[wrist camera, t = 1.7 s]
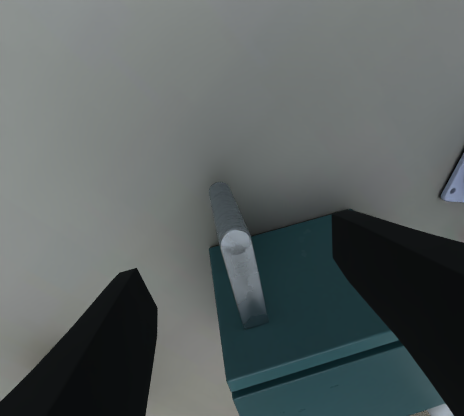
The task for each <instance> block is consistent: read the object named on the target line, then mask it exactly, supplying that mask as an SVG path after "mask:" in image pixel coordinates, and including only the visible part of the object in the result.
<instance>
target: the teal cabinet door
mask: <svg viewBox="0 0 464 416" xmlns="http://www.w3.org/2000/svg"><path fill="white" fill-rule="evenodd" d="M209 197H210V202H211V207H212V211H213V216H214V221H215V226H216V231H217V236H218V241H219V246H215V247H212V248H209V254H210V261H211V269H212V276H213V284H214V292H215V299H216V307H217V314H218V322H219V329H220V337H221V345H222V352H223V360H224V367H225V375H226V381H227V384H228V386H229V389H230V391H231V392H234V391H238V390H241V389H244V388H247V387H250V386H254V385H257V384H260V383H263V382H266V381H270V380H273V379H276V378H279V377H283V376H286V375H289V374H292V373H295V372H299V371H302V370H305V369H308V368H311V367H315V366H318V365H321V364H324V363H327V362H331V361H334V360H337V359H340V358H344V357H347V356H350V355H353V354H356V353H360V352H363V351H366V350H369V349H372V348H376V347H379V346H382V345H385V344H389V343H392V342H395V341H398V340H399V339H398V338H397V337H396V336H395V335H394V333H393V332H392V331H391V330H390V329H389V328H388V326H387V325H386V324H385V323H384V322H383V321H382V320H381V318H380V317H379V316H378V315H377V314H376V313H375V312H374V310H373V309H372V308H371V307H370V306H369V305H368V304H367V302H366V301H365V300H364V299H363V298H362V297H361V295H360V294H359V293H358V292H357V291H356V290H355V288H354V287H353V286H352V285H351V284H350V283H349V281H348V280H347V279H346V277H345V276H344V274H343V273H342V271H341V270H340V268H339V267H338V265H337V264H336V262H335V261H334V259H333V257H332V214H331V215H327V216H324V217H320V218H317V219H313V220H309V221H306V222H302V223H298V224H295V225H291V226H288V227H284V228H280V229H277V230H273V231H270V232H266V233H262V234H259V235H255V236H252V237H251V235H250V233H249V231H248V228H247V226H246V224H245V222H244V219H243V217H242V215H241V212H240V210H239V208H238V206H237V203H236V201H235V199H234V197H233V194H232V192H231V190H230V187H229V186H228V185H227V184H226V183H224V182H216V183H214V184H213V185H212V186H211V187H210V189H209ZM349 210H352V209H349ZM352 211H354V210H352Z"/></svg>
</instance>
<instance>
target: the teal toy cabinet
mask: <svg viewBox="0 0 464 416" xmlns="http://www.w3.org/2000/svg"><path fill="white" fill-rule="evenodd" d="M232 398H233V401H234V404H235V406H236V408H237V411H238V413H239V416H409V415H412V414H415V413H418V412H421V411H424V410H427V409H430V408H433V407H436V406H439V405H442V404H445V402H444V401H443V399H442V398H441V396H440V395H439V394H438V392H437V391H436V389H435V388H434V386H433V385H432V384H431V382H430V381H429V379H428V378H427V377H426V375H425V374H424V373H423V371H422V370H421V368H420V367H419V366H418V364H417V363H416V362H415V360H414V359H413V357H412V356H411V355H410V353H409V352H408V351H407V349H406V348H405V347H404V346H403V344H402V343H401V342H400V341H399V340H398V341H395V342H392V343H389V344H385V345H382V346H379V347H376V348H372V349H369V350H366V351H363V352H360V353H356V354H353V355H350V356H347V357H344V358H340V359H337V360H334V361H331V362H327V363H324V364H321V365H318V366H315V367H311V368H308V369H305V370H302V371H299V372H295V373H292V374H289V375H286V376H283V377H279V378H276V379H273V380H270V381H266V382H263V383H260V384H257V385H254V386H250V387H247V388H244V389H241V390H238V391H234V392H232Z"/></svg>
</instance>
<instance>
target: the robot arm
mask: <svg viewBox="0 0 464 416" xmlns="http://www.w3.org/2000/svg"><path fill="white" fill-rule="evenodd" d="M441 199H442V200H445V201H451V202H464V153H463V155H462V157H461V159H460V160H459V162H458V164H457V166H456V168H455V170H454V172H453V174H452V175H451V177H450V179H449V181H448V183H447V185H446V187H445V189H444V190H443V192H442V194H441ZM332 257H333V259H334V261H335V262H336V264H337V265H338V267H339V268H340V270H341V271H342V273H343V274H344V276H345V277H346V279H347V280H348V281H349V283H350V284H351V285H352V286H353V287H354V288H355V290H356V291H357V292H358V293H359V294H360V295H361V297H362V298H363V299H364V300H365V301H366V302H367V304H368V305H369V306H370V307H371V308H372V309H373V310H374V312H375V313H376V314H377V315H378V316H379V317H380V318H381V320H382V321H383V322H384V323H385V324H386V325H387V326H388V328H389V329H390V330H391V331H392V332H393V333H394V335H395V336H396V337H397V338H398V339H399V341H400V342H401V343H402V344H403V346H404V347H405V348H406V349H407V351H408V352H409V353H410V355H411V356H412V357H413V359H414V360H415V362H416V363H417V364H418V366H419V367H420V368H421V370H422V371H423V373H424V374H425V375H426V377H427V378H428V379H429V381H430V382H431V384H432V385H433V386H434V388H435V389H436V391H437V392H438V394H439V395H440V396H441V398H442V399H443V401H444V402H445V404H446V405H447V406H448V408H449V409H450V411H451V412H452V414H453V415H454V416H464V243H462V242H458V241H455V240H451V239H447V238H443V237H440V236H436V235H432V234H429V233H425V232H422V231H418V230H415V229H412V228H408V227H405V226H402V225H398V224H395V223H392V222H389V221H386V220H382V219H379V218H376V217H373V216H370V215H366V214H363V213H359V212H356V211H352V210H344V211H340V212H337V213H333V214H332ZM156 340H157V306H156V304H155V302H154V300H153V298H152V296H151V294H150V293H149V291H148V289H147V287H146V285H145V283H144V281H143V279H142V277H141V275H140V273H139V271H138V269H137V268H135V269H131V270H128V271H124V272H120V273H119V274H118V275H117V276H116V277H115V278H114V279H113V280H112V281H111V282H110V283H109V285H108V286H107V287H106V288H105V289H104V290H103V292H102V293H101V294H100V295H99V296H98V297H97V299H96V300H95V301H94V302H93V303H92V304H91V306H90V307H89V308H88V309H87V310H86V311H85V313H84V314H83V315H82V316H81V317H80V318H79V319H78V321H77V322H76V323H75V324H74V325H73V326H72V328H71V329H70V330H69V331H68V332H67V333H66V334H65V335H64V336H63V337H62V338H61V340H60V341H59V342H58V343H57V344H56V345H55V346H54V347H53V348H52V349H51V350H50V352H49V353H48V354H47V355H46V356H45V357H44V358H43V359H42V360H41V361H40V362H39V364H38V365H37V366H36V367H35V368H34V369H33V370H32V371H31V372H30V373H29V374H28V375H27V376H26V377H25V378H24V379H23V380H22V381H21V382H20V383H19V384H18V385H17V386H16V387H15V388H14V389H13V390H12V391H11V392H10V393H9V394H8V395H7V396H6V397H5V398H4V399H3V400H2V401H0V416H145V415H146V408H147V401H148V395H149V388H150V381H151V375H152V368H153V361H154V354H155V347H156Z"/></svg>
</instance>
